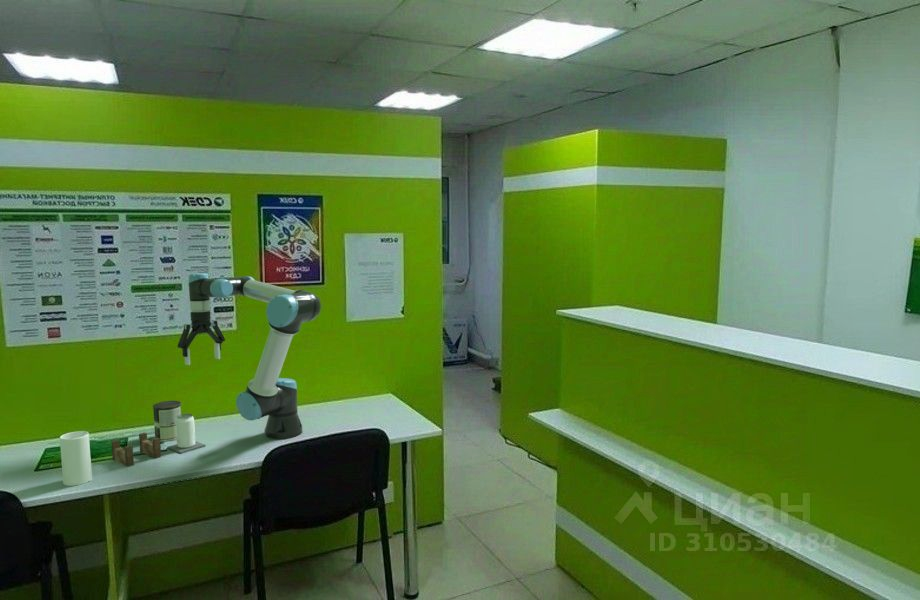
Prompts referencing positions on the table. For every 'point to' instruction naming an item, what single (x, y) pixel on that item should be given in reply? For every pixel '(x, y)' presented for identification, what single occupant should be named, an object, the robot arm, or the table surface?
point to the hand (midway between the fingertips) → (202, 361)
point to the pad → (183, 450)
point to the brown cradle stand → (126, 454)
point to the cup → (75, 458)
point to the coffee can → (166, 419)
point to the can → (185, 431)
